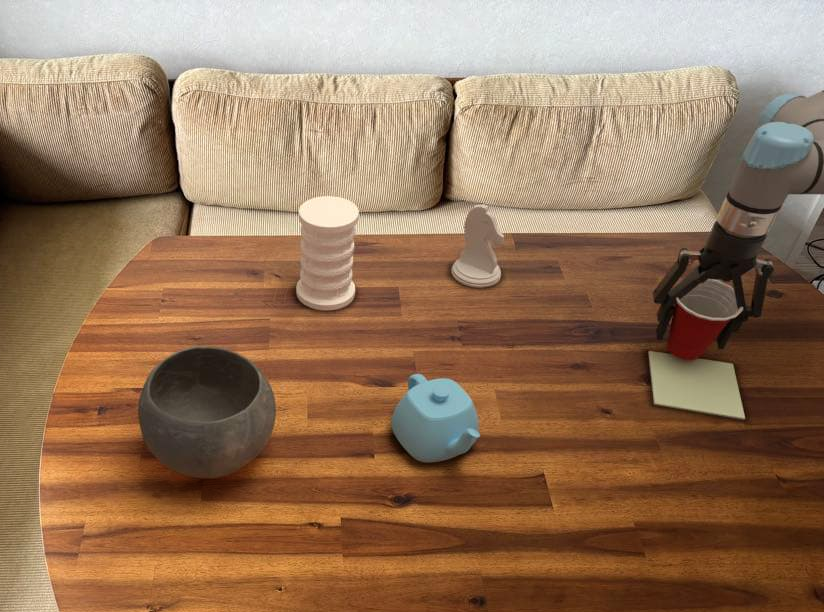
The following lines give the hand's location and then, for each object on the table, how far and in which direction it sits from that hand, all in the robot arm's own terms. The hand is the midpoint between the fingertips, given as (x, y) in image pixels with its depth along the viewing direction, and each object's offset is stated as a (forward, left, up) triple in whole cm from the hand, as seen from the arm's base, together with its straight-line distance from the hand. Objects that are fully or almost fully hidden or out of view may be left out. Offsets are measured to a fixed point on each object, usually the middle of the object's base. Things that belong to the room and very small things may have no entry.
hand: (689, 339), depth 134 cm
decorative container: (+66, -3, -4) cm, 66 cm away
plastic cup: (0, 0, -3) cm, 3 cm away
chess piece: (+38, -17, -4) cm, 41 cm away
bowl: (+74, +43, -4) cm, 85 cm away
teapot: (+40, +32, -4) cm, 51 cm away
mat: (-1, +7, -4) cm, 8 cm away
